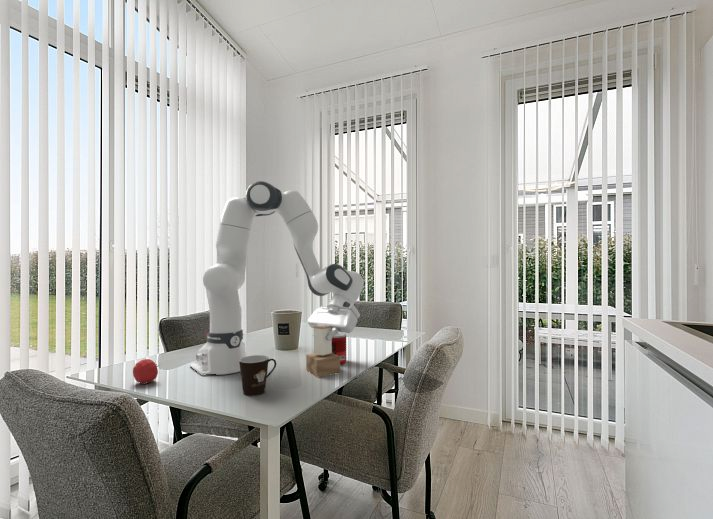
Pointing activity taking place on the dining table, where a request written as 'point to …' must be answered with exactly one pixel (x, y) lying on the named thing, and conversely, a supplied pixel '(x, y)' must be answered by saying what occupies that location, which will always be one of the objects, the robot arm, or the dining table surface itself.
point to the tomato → (145, 371)
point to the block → (322, 364)
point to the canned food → (339, 346)
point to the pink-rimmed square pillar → (322, 339)
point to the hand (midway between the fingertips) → (321, 338)
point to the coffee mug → (254, 374)
